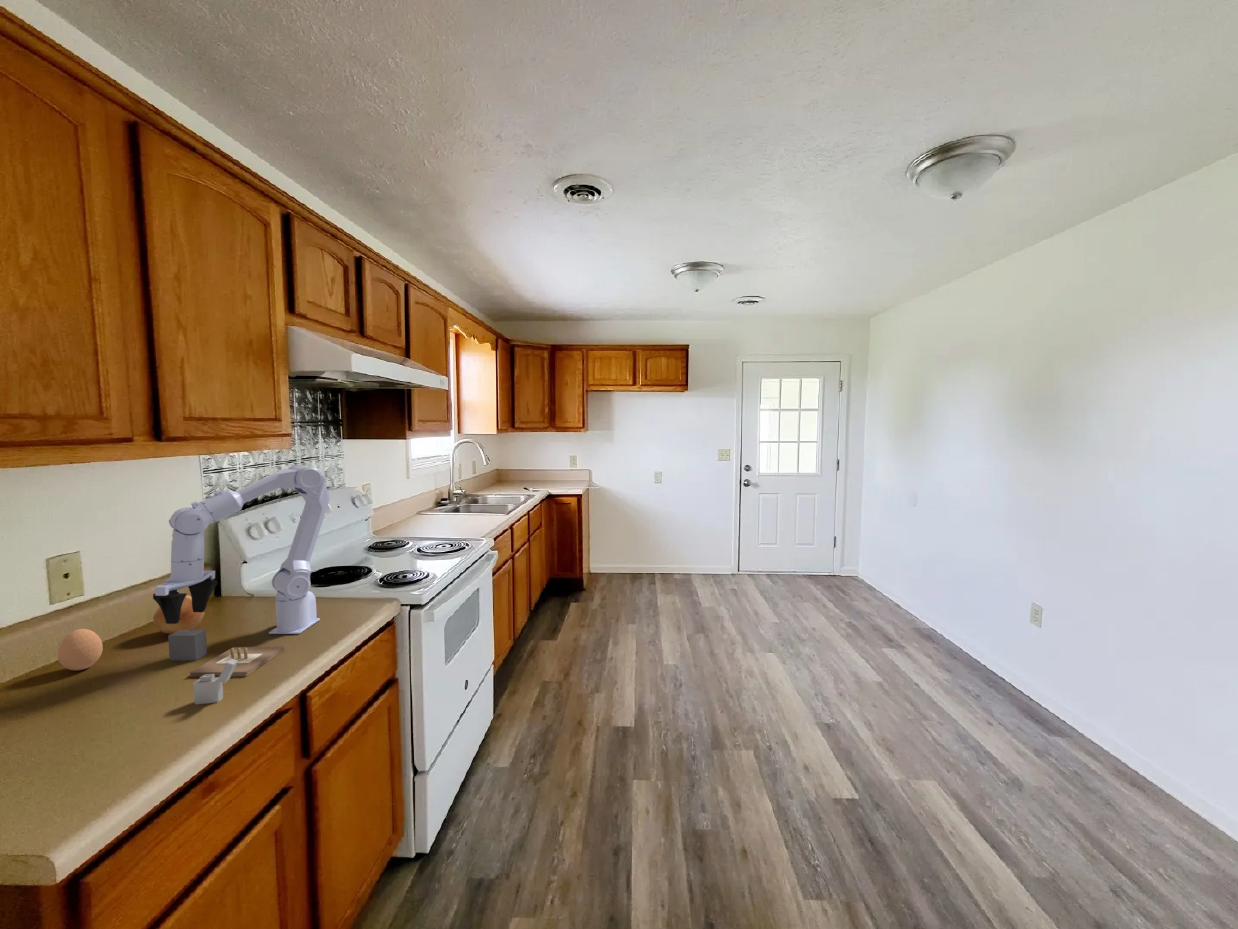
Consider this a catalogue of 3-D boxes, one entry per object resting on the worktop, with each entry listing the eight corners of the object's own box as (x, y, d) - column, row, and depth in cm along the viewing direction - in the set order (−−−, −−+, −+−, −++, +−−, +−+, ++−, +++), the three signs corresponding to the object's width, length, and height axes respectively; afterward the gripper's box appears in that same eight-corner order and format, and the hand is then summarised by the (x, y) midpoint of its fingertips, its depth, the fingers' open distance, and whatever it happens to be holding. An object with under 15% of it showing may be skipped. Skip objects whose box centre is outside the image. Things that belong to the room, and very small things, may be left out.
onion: (147, 636, 123) (144, 598, 123) (195, 622, 132) (193, 587, 131) (164, 644, 119) (161, 605, 118) (212, 629, 128) (210, 593, 127)
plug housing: (181, 654, 113) (179, 630, 113) (207, 654, 114) (205, 630, 113) (169, 660, 110) (168, 635, 110) (196, 660, 111) (194, 635, 110)
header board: (233, 651, 115) (232, 637, 115) (283, 650, 116) (283, 636, 115) (190, 677, 103) (189, 661, 103) (246, 676, 104) (245, 661, 103)
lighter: (194, 704, 93) (191, 665, 92) (199, 699, 95) (197, 661, 94) (235, 700, 95) (233, 661, 94) (240, 695, 96) (238, 657, 96)
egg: (112, 662, 110) (109, 624, 109) (77, 677, 103) (74, 636, 102) (86, 661, 110) (83, 623, 109) (50, 676, 103) (46, 635, 103)
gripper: (194, 552, 117) (192, 607, 118) (140, 566, 103) (139, 628, 103) (224, 553, 118) (222, 607, 118) (176, 567, 104) (174, 629, 104)
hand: (186, 617), depth 111 cm, fingers open, 7 cm apart
